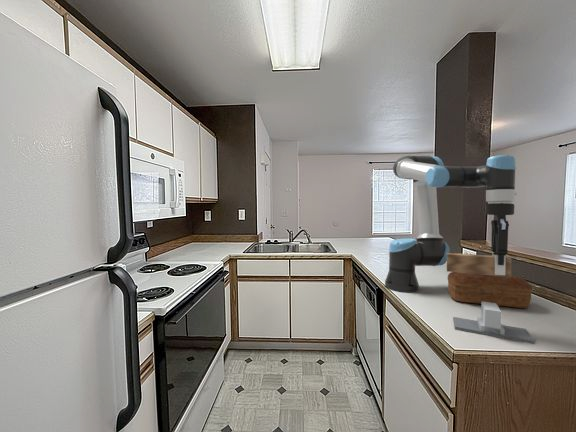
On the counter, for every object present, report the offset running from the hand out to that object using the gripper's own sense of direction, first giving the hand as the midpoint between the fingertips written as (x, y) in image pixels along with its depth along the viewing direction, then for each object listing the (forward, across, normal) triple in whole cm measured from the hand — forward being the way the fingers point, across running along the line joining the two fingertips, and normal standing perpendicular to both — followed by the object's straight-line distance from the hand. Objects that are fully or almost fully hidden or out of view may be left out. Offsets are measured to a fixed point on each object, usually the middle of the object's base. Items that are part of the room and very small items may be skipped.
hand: (498, 273), depth 94 cm
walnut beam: (+1, 0, +6) cm, 6 cm away
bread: (+17, +26, 0) cm, 31 cm away
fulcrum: (+18, -6, +3) cm, 19 cm away
